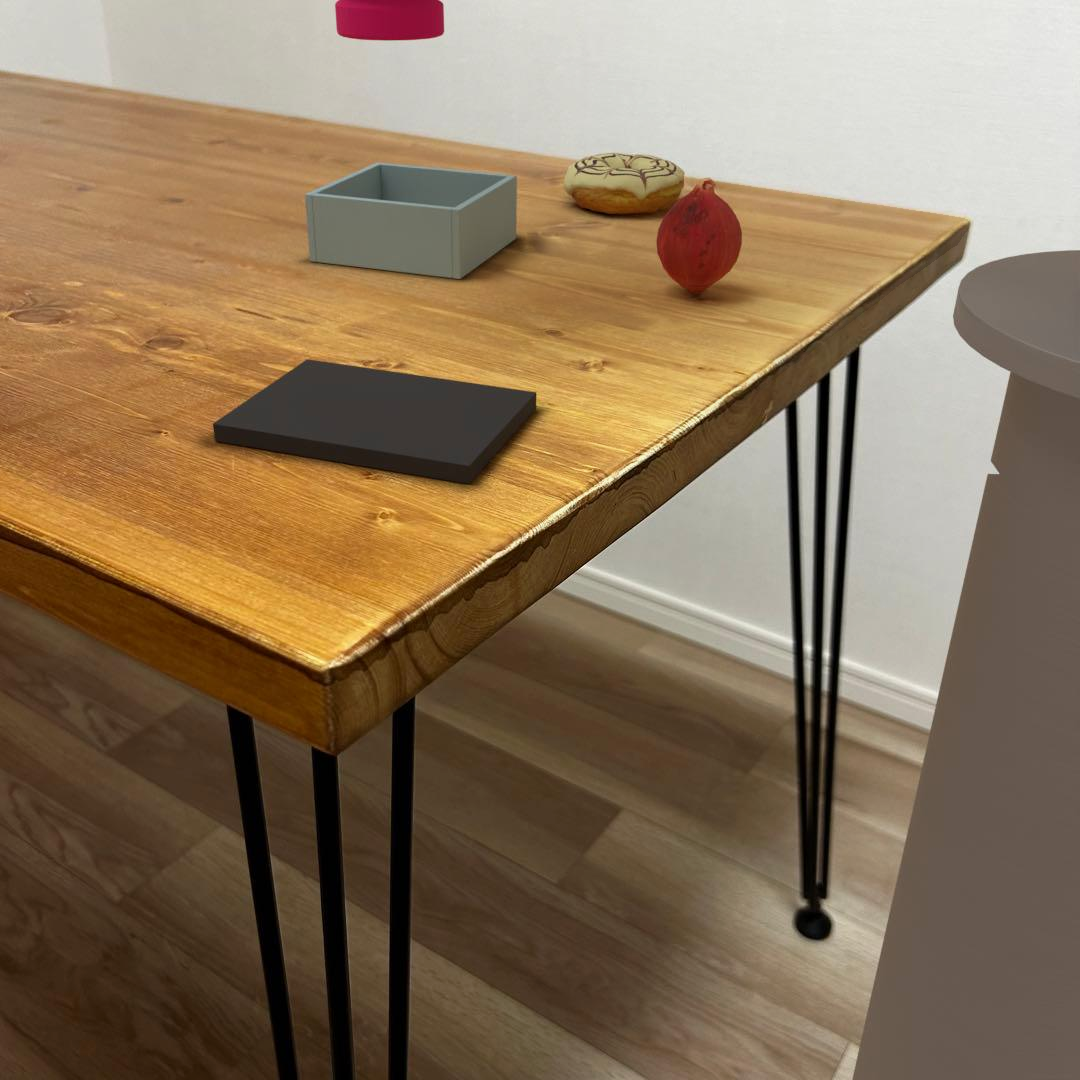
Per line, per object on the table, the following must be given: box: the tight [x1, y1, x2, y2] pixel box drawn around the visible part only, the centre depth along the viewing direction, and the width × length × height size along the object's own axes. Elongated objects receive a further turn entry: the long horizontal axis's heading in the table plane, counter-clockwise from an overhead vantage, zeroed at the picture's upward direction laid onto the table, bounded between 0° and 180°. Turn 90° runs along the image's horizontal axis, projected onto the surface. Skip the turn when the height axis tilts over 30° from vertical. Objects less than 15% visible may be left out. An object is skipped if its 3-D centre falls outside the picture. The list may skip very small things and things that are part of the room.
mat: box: [212, 358, 537, 485], centre depth 63 cm, size 14×10×1 cm
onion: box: [655, 177, 743, 295], centre depth 82 cm, size 6×6×8 cm
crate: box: [304, 162, 518, 280], centre depth 92 cm, size 12×12×5 cm
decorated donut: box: [563, 152, 685, 215], centre depth 107 cm, size 10×11×4 cm
